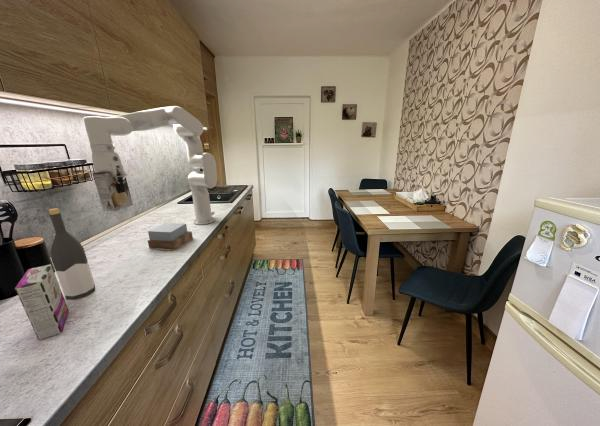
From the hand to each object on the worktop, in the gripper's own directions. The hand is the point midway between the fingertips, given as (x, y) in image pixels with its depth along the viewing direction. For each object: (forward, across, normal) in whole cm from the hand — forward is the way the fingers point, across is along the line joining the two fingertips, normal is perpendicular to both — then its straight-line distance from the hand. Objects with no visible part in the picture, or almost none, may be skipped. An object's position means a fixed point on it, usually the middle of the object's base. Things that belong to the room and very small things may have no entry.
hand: (114, 191), depth 104 cm
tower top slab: (+25, -11, -13) cm, 30 cm away
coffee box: (+7, 0, 0) cm, 7 cm away
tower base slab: (+30, -12, -13) cm, 34 cm away
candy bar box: (+29, -18, +43) cm, 55 cm away
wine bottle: (+29, -10, +30) cm, 42 cm away
